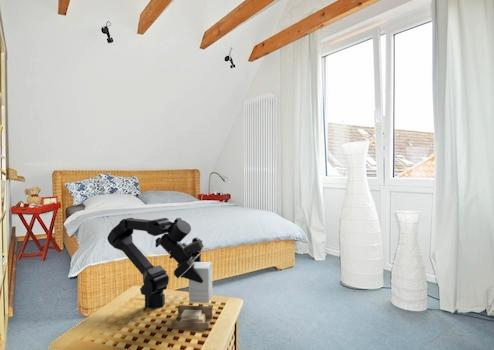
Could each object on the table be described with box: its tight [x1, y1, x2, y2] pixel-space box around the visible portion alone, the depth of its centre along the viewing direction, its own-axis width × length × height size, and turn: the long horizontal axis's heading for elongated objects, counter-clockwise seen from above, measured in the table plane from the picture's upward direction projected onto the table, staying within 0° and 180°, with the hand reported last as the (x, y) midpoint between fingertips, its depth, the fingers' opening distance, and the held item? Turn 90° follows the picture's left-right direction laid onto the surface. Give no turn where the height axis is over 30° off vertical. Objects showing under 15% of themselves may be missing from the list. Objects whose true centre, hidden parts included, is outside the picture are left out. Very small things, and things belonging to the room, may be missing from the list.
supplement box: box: [188, 261, 213, 304], centre depth 120 cm, size 7×7×13 cm
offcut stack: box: [180, 310, 206, 322], centre depth 112 cm, size 8×5×4 cm, turn 85°
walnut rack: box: [171, 304, 213, 330], centre depth 113 cm, size 12×8×5 cm, turn 85°
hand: (204, 278), depth 120 cm, fingers closed on supplement box, 7 cm apart
